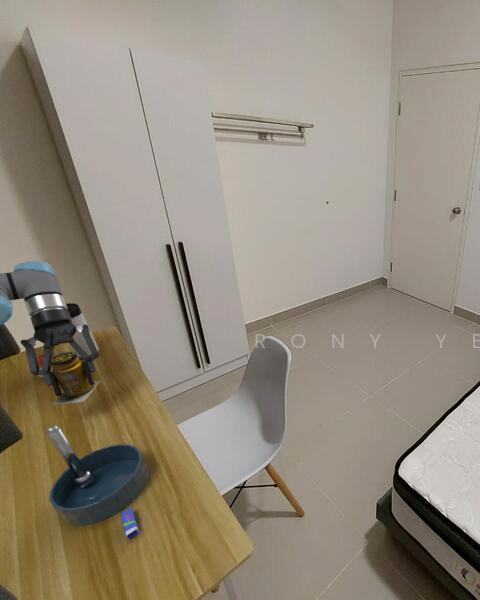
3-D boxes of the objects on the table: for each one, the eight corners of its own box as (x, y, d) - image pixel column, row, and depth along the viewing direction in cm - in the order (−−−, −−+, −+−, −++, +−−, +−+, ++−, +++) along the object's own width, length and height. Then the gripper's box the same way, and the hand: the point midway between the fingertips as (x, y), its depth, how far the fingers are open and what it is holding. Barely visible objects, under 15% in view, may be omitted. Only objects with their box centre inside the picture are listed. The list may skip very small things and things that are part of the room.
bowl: (41, 530, 70) (27, 514, 67) (93, 461, 84) (84, 446, 81) (123, 522, 72) (114, 506, 69) (161, 457, 86) (154, 441, 83)
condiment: (101, 380, 97) (85, 348, 91) (84, 401, 90) (66, 367, 84) (71, 384, 95) (53, 351, 89) (52, 405, 88) (31, 371, 82)
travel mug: (94, 346, 124) (73, 300, 115) (102, 352, 121) (81, 305, 112) (73, 354, 119) (49, 307, 110) (81, 361, 116) (57, 313, 107)
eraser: (128, 540, 69) (125, 535, 68) (123, 518, 72) (120, 513, 71) (139, 533, 70) (136, 528, 69) (134, 512, 74) (131, 507, 73)
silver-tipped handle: (100, 477, 79) (67, 421, 70) (86, 492, 76) (49, 435, 67) (87, 475, 79) (52, 419, 70) (72, 489, 76) (33, 432, 67)
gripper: (96, 308, 100) (122, 377, 98) (5, 328, 88) (31, 407, 86) (91, 299, 94) (118, 372, 92) (-8, 320, 83) (19, 404, 80)
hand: (76, 389), depth 89 cm, fingers closed on condiment, 6 cm apart
